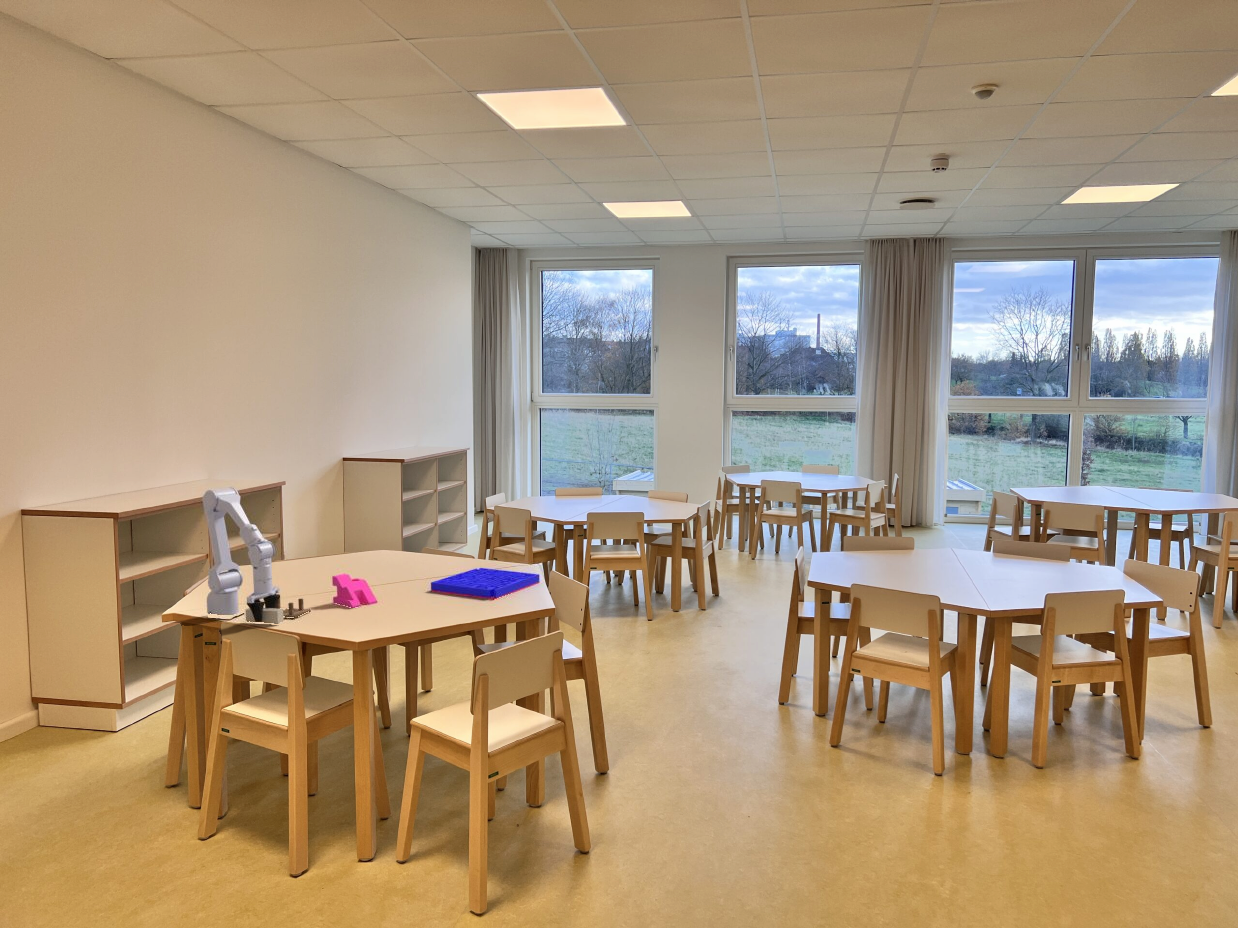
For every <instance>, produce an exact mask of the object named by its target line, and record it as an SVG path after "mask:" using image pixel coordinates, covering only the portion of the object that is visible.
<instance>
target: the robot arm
mask: <svg viewBox="0 0 1238 928" xmlns="http://www.w3.org/2000/svg"><path fill="white" fill-rule="evenodd" d="M201 500H202V505H203V511H204V514H205V515H206V521H207V528H208V529H207V530H208V534H209V541H210V546H211V550H212V558H213V561H214V565H213V566H212V567H211V568H210V569H209V570H208V571H207V573H208V577H207V578H208V579H207V586H208V588H209V589H210V592H209V593H208V594H207V596H206V611H207V612H206V614H207V613H208V614H210V613H211V614H217V615H234V614H237V613H238V612H240V609H239V590H240V587H241V586H242V584H243V582H244V576H243V573H242V572H241V570H240V566H239V565H238V564H237V563H236V562H233V560H232V556H231V555H232V554H231V550H230V545H229V544H230V543H229V538H228V533H227V528H226V527H227V526H226V522H225V516H226V514H228V515H229V516H230V518H231V519H232V520H233V522H234V523H235V524H236V525H237V527H238V528H239V534H238V535H239V536H240V538H241V539H242V541H243V543H244V544H245V546H246V548H247V549H248V552H247V555H248V559H249V560H250V565H251V567H252V575H253V576H252V577H253V579H252V580H253V592H252V593H251V594H250V595H248V596H246V606H248V608H250V609H251V611H252V614H253V617H254V620H255V622H262V617H263V608H265V606H266V608H276V605H277V603H278V600H279V598H280V599H281V595H280V586H273V569H272V566H273V565H272V559H273V558H274V556H275V553H276V549H275V546H274V544H273V542H271V541H269V540H268V539H267V538H264V536H263V535H262V533H261V531H260V530H259V528H258V526H257V525H256V524H252V523H250V520H249V518H248V517H247V515H246V512H245V511H244V509H243V507H242V505H241V495H240V494H239V492H238V490H237V489H236V488H235V487H228V488H227V487H226V488H219V489H218V488H217V489H208V490H206V491H205V493H204V494H203V495H202V499H201ZM262 599H263V601H262Z"/></svg>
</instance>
